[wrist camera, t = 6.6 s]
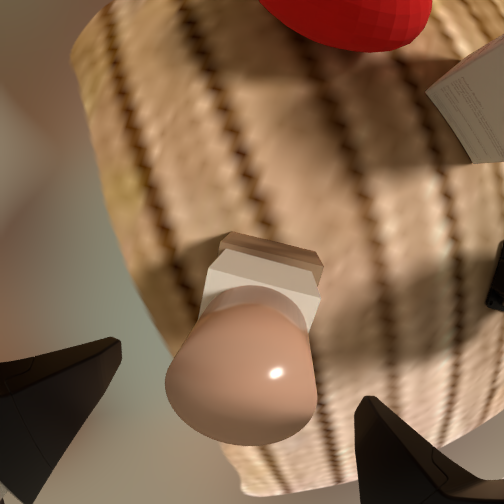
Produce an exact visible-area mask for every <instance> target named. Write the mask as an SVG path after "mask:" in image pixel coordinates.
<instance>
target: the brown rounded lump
mask: <svg viewBox="0 0 504 504" xmlns="http://www.w3.org/2000/svg"><path fill="white" fill-rule="evenodd" d="M165 389H166V394H167V397H168V400H169V402H170V404H171V406H172V408H173V409H174V411H175V412H176V413H177V415H178V416H179V417H180V418H181V419H182V420H183V421H184V422H185V423H186V424H188V425H189V426H190V427H191V428H193V429H194V430H196V431H197V432H199V433H201V434H203V435H205V436H207V437H209V438H211V439H214V440H217V441H220V442H224V443H227V444H233V445H240V446H260V445H267V444H272V443H276V442H279V441H282V440H284V439H287V438H289V437H291V436H293V435H294V434H296V433H297V432H299V431H300V430H301V429H302V428H303V427H305V425H306V424H307V423H308V422H309V421H310V419H311V418H312V416H313V414H314V412H315V409H316V405H317V390H316V383H315V376H314V369H313V362H312V355H311V348H310V342H309V336H308V329H307V324H306V321H305V318H304V316H303V314H302V312H301V310H300V309H299V308H298V306H297V305H296V304H295V303H294V302H293V301H292V300H291V299H289V298H288V297H287V296H285V295H284V294H282V293H280V292H278V291H276V290H274V289H271V288H268V287H264V286H257V285H245V286H238V287H234V288H231V289H228V290H226V291H224V292H222V293H220V294H219V295H217V296H216V297H215V298H214V299H213V300H212V301H211V302H210V303H209V304H208V305H207V307H206V308H205V310H204V311H203V313H202V314H201V316H200V318H199V319H198V321H197V322H196V324H195V326H194V327H193V329H192V330H191V332H190V334H189V335H188V337H187V338H186V340H185V342H184V343H183V345H182V346H181V348H180V350H179V351H178V353H177V354H176V356H175V358H174V359H173V361H172V363H171V365H170V366H169V368H168V370H167V373H166V378H165Z"/></svg>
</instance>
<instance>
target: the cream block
mask: <svg viewBox="0 0 504 504" xmlns="http://www.w3.org/2000/svg"><path fill="white" fill-rule="evenodd" d="M245 285H257V286H264V287H268V288H271V289H274V290H276V291H278V292H280V293H282V294H284V295H285V296H287V297H288V298H289V299H291V300H292V301H293V302H294V303H295V304H296V305H297V306H298V308H299V309H300V310H301V312H302V314H303V316H304V318H305V321H306V324H307V329H308V333H309V330H310V327H311V325H312V322H313V320H314V317H315V314H316V312H317V309H318V306H319V303H320V301H321V296H320V293H319V290H318V287H317V285H316V282H315V279H314V276H313V274H312V272H311V271H308V270H304V269H300V268H297V267H293V266H289V265H285V264H282V263H278V262H274V261H270V260H267V259H263V258H259V257H256V256H252V255H248V254H244V253H241V252H237V251H233V250H230V249H225V250H224V251H223V252H222V254H221V255H220V256H219V257H218V258H217V259H216V260H215V261H214V262H213V263H212V265H211V266H210V267H209V268H208V272H207V277H206V282H205V287H204V292H203V297H202V302H201V307H200V312H199V317H198V319H199V318H200V316H201V314H202V313H203V311H204V310H205V308H206V307H207V305H208V304H209V303H210V302H211V301H212V300H213V299H214V298H215V297H216V296H217V295H219V294H220V293H222V292H224V291H226V290H228V289H231V288H234V287H238V286H245Z"/></svg>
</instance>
